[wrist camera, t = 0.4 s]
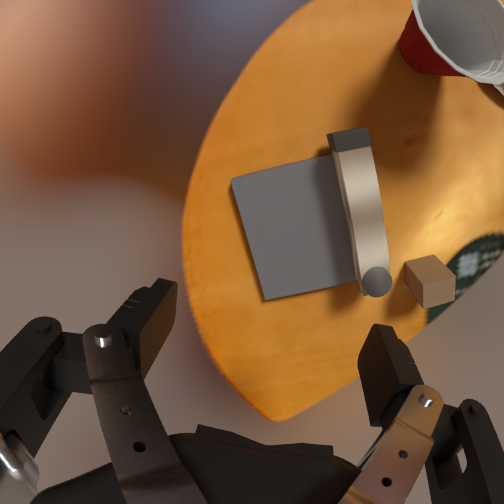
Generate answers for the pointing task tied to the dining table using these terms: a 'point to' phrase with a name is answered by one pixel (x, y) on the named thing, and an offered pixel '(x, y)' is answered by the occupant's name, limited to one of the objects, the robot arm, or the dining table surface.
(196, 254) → the dining table surface
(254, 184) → the grey slab beige block
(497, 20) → the plastic cup
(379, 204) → the folding leg
